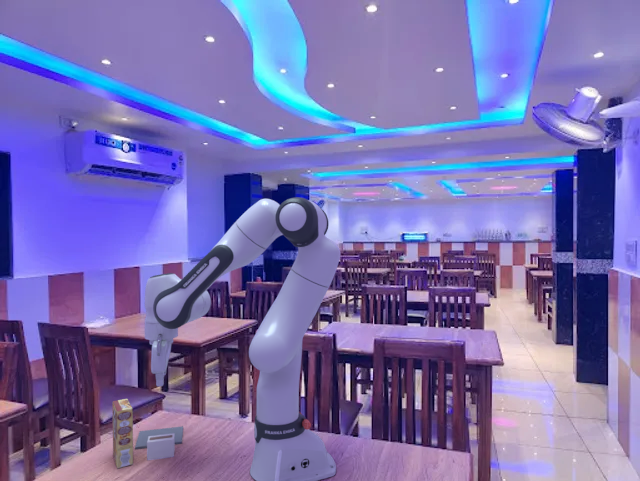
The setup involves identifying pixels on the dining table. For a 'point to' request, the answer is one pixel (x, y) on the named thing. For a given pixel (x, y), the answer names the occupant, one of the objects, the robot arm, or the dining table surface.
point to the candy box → (122, 433)
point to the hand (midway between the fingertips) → (161, 380)
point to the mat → (144, 435)
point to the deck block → (160, 446)
